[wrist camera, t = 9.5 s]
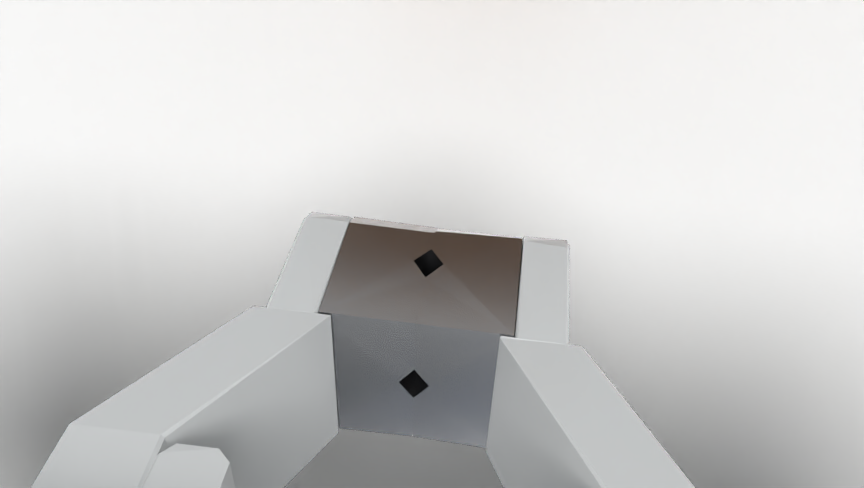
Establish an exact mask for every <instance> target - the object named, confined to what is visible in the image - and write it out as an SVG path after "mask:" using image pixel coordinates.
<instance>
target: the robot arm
mask: <svg viewBox="0 0 864 488" xmlns="http://www.w3.org/2000/svg"><path fill="white" fill-rule="evenodd" d="M569 263H570V246H569V244H568V242H567V240H558V239H546V238H535V237H524V238H523V241H522V237H513V236H504V235H494V234H485V233H476V232H466V231H457V230H448V229H438V228H433V227H426V226H418V225H411V224H404V223H396V222H389V221H381V220H374V219H367V218H359V217H354V218H351V217H348V216H340V215H332V214H324V213H317V212H311V213H310V214H309V215H308V216H307V217H306V218H304V220H303V222H302V224H301V227H300V229H299V231H298V234H297V236H296V238H295V241H294V243H293V246H292V248H291V250H290V253H289V255H288V257H287V260H286V262H285V264H284V267H283V269H282V271H281V274H280V276H279V278H278V281H277V283H276V285H275V288H274V290H273V292H272V295H271V297H270V299H269V302H268V304H267V306H266V307H261V306H252V307H251V308H249V309H247V310H246V311H244V312H243V313H241V314H240V315H238V316H237V317H235V318H233V319H232V320H230V321H229V322H227V323H226V324H224V325H223V326H221V327H219V328H218V329H216V330H215V331H213V332H212V333H210V334H209V335H207V336H205V337H204V338H202V339H201V340H199V341H198V342H196V343H194V344H193V345H191V346H190V347H188V348H187V349H185V350H184V351H182V352H180V353H179V354H177V355H176V356H174V357H173V358H171V359H170V360H168V361H166V362H165V363H163V364H162V365H160V366H159V367H157V368H155V369H154V370H152V371H151V372H149V373H148V374H146V375H145V376H143V377H141V378H140V379H138V380H137V381H135V382H134V383H132V384H131V385H129V386H127V387H126V388H124V389H123V390H121V391H120V392H118V393H117V394H115V395H113V396H112V397H110V398H109V399H107V400H106V401H104V402H102V403H101V404H99V405H98V406H96V407H95V408H93V409H92V410H90V411H88V412H87V413H85V414H84V415H82V416H81V417H79V418H78V419H76V420H74V421H73V422H71V423H70V424H69V425H68V427H67V428H66V430H65V432H64V433H63V435H62V437H61V438H60V440H59V442H58V443H57V445H56V446H55V448H54V450H53V451H52V453H51V455H50V456H49V458H48V460H47V461H46V463H45V465H44V466H43V468H42V470H41V471H40V473H39V475H38V476H37V478H36V480H35V481H34V483H33V485H32V486H31V488H284V487H285V486H286V485H287V484H288V483H289V482H290V481H291V480H292V479H293V478H294V477H295V476H296V475H297V474H298V473H299V472H300V471H301V470H302V469H303V468H304V467H305V466H306V465H307V464H308V463H309V462H310V461H311V460H312V459H313V458H314V457H315V456H316V455H317V454H318V453H319V452H320V451H321V450H322V449H323V448H324V447H325V446H326V445H327V444H328V443H329V442H330V441H331V440H332V439H333V438H334V437H335V436H336V435H337V434H338V433H339V430H338V428H342V429H351V430H361V431H370V432H379V433H388V434H397V435H407V436H412V435H413V436H414V437H421V438H427V439H433V440H439V441H445V442H451V443H458V444H464V445H470V446H476V447H482V448H486V453H487V455H488V457H489V459H490V461H491V463H492V465H493V467H494V469H495V472H496V474H497V476H498V478H499V480H500V482H501V484H502V486H503V488H695V487H694V485H693V484H692V483H691V482H690V480H689V479H688V478H687V477H686V475H685V474H684V473H683V472H682V470H681V469H680V468H679V467H678V465H677V464H676V463H675V462H674V460H673V459H672V458H671V457H670V455H669V454H668V453H667V452H666V450H665V449H664V448H663V447H662V445H661V444H660V443H659V442H658V440H657V439H656V438H655V437H654V435H653V434H652V433H651V432H650V430H649V429H648V428H647V427H646V425H645V424H644V423H643V422H642V420H641V419H640V418H639V417H638V415H637V414H636V413H635V412H634V410H633V409H632V408H631V407H630V405H629V404H628V403H627V402H626V400H625V399H624V398H623V397H622V395H621V394H620V393H619V391H618V390H617V389H616V388H615V386H614V385H613V384H612V383H611V381H610V380H609V379H608V378H607V376H606V375H605V374H604V373H603V371H602V370H601V369H600V368H599V366H598V365H597V364H596V363H595V361H594V360H593V359H592V358H591V356H590V355H589V354H588V353H587V351H586V350H585V349H584V348H583V347H582V346H576V345H569Z"/></svg>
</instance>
